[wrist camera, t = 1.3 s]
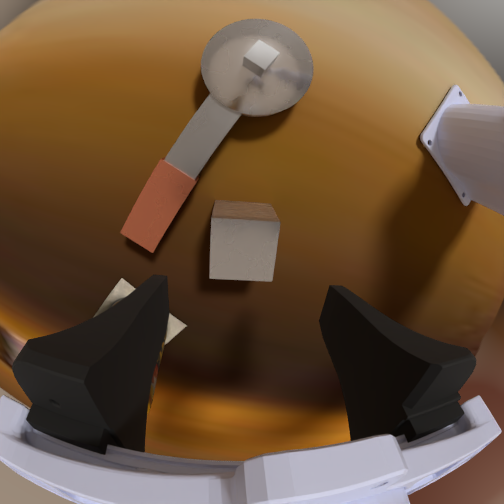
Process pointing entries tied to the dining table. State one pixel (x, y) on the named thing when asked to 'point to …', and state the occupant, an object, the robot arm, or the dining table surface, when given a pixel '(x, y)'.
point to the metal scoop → (223, 113)
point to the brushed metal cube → (243, 241)
